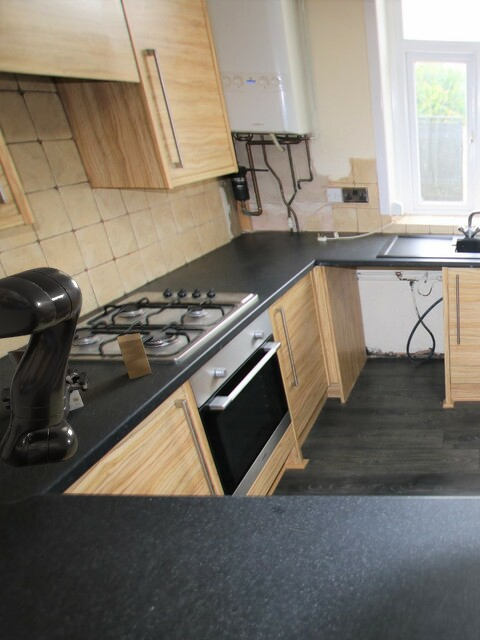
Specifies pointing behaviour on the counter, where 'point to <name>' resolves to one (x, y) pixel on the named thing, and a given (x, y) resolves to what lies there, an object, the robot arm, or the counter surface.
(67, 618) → the counter surface
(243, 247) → the counter surface
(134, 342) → the birch block
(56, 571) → the counter surface
